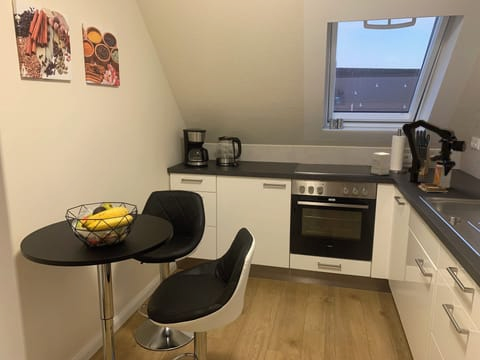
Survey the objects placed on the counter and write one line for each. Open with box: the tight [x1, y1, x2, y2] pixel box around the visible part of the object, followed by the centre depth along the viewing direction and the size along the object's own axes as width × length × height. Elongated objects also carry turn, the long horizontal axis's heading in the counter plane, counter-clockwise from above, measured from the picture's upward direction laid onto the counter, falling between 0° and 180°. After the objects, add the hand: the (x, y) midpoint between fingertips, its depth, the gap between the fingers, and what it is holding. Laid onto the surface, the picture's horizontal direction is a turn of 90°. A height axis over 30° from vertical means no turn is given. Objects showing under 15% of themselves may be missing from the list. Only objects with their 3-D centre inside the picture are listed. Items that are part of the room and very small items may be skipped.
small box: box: [432, 164, 453, 189], centre depth 236 cm, size 8×6×13 cm
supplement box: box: [370, 151, 392, 176], centre depth 272 cm, size 9×9×15 cm
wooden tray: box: [418, 182, 448, 193], centre depth 227 cm, size 14×12×2 cm
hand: (442, 174), depth 235 cm, fingers closed on small box, 8 cm apart
